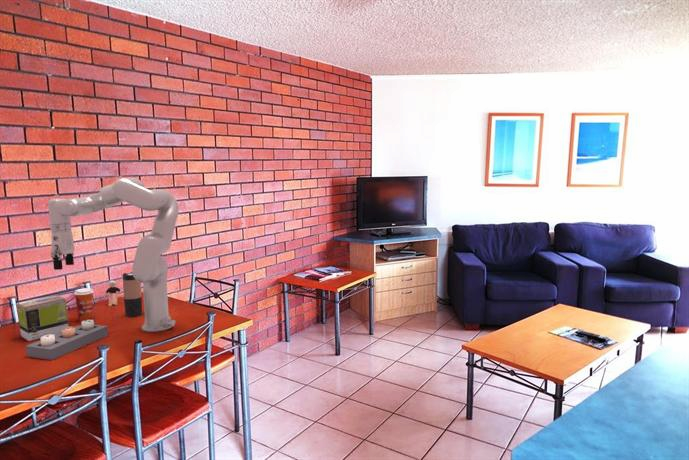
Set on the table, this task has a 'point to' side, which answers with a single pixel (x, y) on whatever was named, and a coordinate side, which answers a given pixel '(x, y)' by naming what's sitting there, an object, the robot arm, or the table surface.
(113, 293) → the grandmother figurine
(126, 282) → the travel mug
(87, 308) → the paper cup
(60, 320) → the tea box
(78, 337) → the button panel
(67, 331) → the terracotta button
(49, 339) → the white round knob
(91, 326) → the sage button
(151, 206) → the robot arm
